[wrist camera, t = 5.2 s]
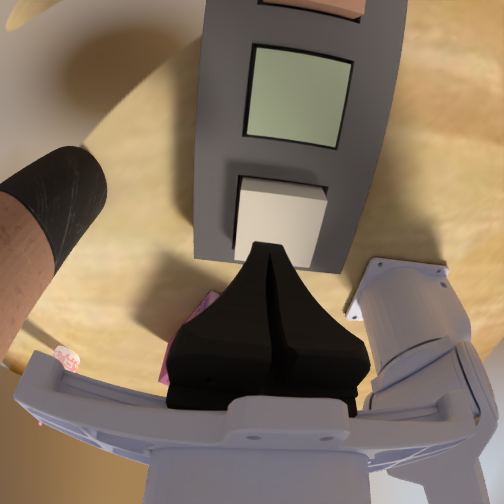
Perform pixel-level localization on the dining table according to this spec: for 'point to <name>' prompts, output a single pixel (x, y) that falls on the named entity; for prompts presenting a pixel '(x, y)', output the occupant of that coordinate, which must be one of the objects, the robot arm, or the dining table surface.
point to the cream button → (280, 217)
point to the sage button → (297, 97)
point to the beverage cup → (66, 359)
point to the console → (284, 150)
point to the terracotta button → (328, 6)
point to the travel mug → (43, 228)
